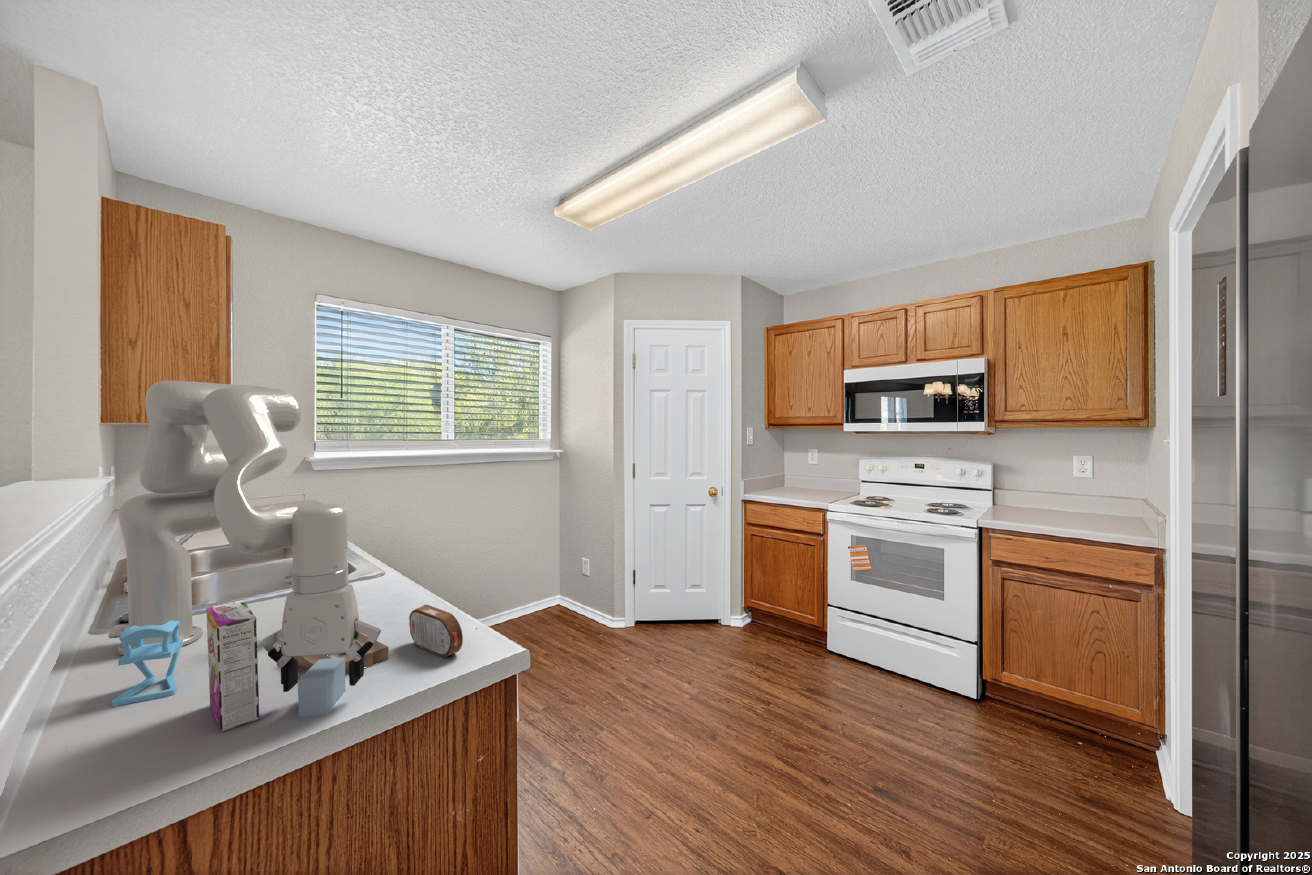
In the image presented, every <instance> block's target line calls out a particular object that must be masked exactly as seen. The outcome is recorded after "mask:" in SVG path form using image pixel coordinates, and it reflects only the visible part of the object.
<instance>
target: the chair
mask: <svg viewBox="0 0 1312 875" xmlns="http://www.w3.org/2000/svg"><path fill="white" fill-rule="evenodd" d="M179 627H180V621H168V622H167V623H166V624H164V625H147V626H142V627H141V626H139V627H138V626H131V627H129V628H127V629H125V630H124V631H123V632H122V633H121V635H120V637H119V638H118V639H119V641H120V642H121V643H122V645H123V647H124V649H125V654H124V655H122V657H121V658H118V660H117V662H118V663H117V665H118V666H119V667H120V666H126V665H130V664H134V665H135V666H136V667H137V669H138V670H139V671H140V672H141V673H142V674H143V676H144V677H145V679H144V680H143V681H141V682H140V683H138V684H136V685H134V686H133V687H131V688H129V689H128V690H126V691H125V692H123V693H121V694H119V695H118V696H116V697H115V698H114V699H112V700H111V707H113V706H114V707H117V706H116V705H120V706H124V704H125V705H128V704H129V703H130V704H133V702H135V703H140V702H145V701H150V700H155V699H161V698H165V697H170V696H174V695H176V693H177V684H176V681H175V670H176V666H177V664H178V660H179V656H180V653H181V650H182V647H183V646H182V644H183V639H179V638H178V630H179ZM172 632H173V633H172ZM171 633H172V641H168V640H169V636H170V635H171ZM145 638H164V639H163V642H161V643H155V644H144V645H143V639H145ZM132 641H136V646H134V647H133V648H132V649H131V647H130V645H129V644H128V643H129V642H132ZM121 643H120V644H121ZM167 658H171V660H170V663H169V666H168V669H167V671H166V674H165V681H166V686H167V689H162V690H158V691H152V692H147V693H146V692H145V693H141V694H137V693H139V692H141V691H142V690H144V689H146V688H147V687H149V686H151V685H152V684H153V683H155V682H156V675H155V674H154V673H153V672H152V670H150V668H149V667H148V666H147V664H146V663H145V662H144V661H149V660H163V659H167ZM135 693H136V694H137V695H136V694H135Z"/></svg>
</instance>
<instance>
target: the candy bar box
mask: <svg viewBox="0 0 1312 875" xmlns="http://www.w3.org/2000/svg"><path fill="white" fill-rule="evenodd" d="M205 609H206V630H207V631H206V633H207V634H206V635H207V636H206V638H207V640H206V641H207V657H208V658H207V659H208V661H207V662H208V688H209V706H210V708H211V711H212V713H213V715H214V716H213V717H215V720H216V722H217V726H218V728H219V731H220V732H221V733H223V732H227V731H231V730H233V729H236V728H238V727H241V726H244V725H246V724H250V723H252V722H255V721H258V720H259V719H260V702H259V700H260V699H259V698H260V696H259V693H260V692H259V691H260V690H259V668H258V666H259V665H258V659H259V658H258V639H257V638H258V637H257V636H258V635H257V634H258V632H257V617H256V615H255V614H254V613H253V611H252V610H251V609H250V607H249V606H248V605H247V604H246V602H245V601H244V600H243V599H242V600H237V601H232V602H227V603H222V604H215V605H212V606H211V605H210V606H209V607H206V608H205Z"/></svg>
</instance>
